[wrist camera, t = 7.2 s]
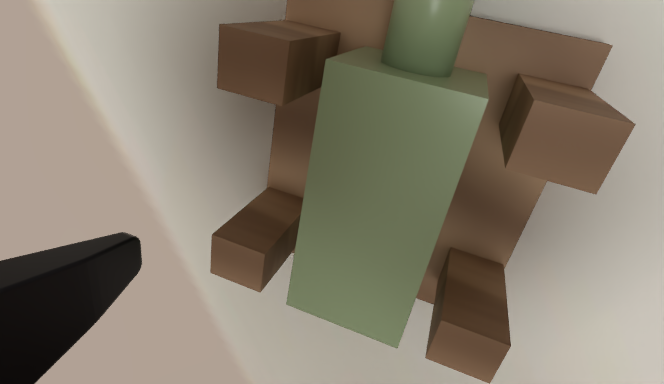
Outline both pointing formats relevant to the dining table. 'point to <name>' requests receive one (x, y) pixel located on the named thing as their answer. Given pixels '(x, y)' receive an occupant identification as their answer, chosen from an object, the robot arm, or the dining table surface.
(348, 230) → the bottle
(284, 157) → the cradle
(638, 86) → the dining table surface
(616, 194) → the dining table surface
